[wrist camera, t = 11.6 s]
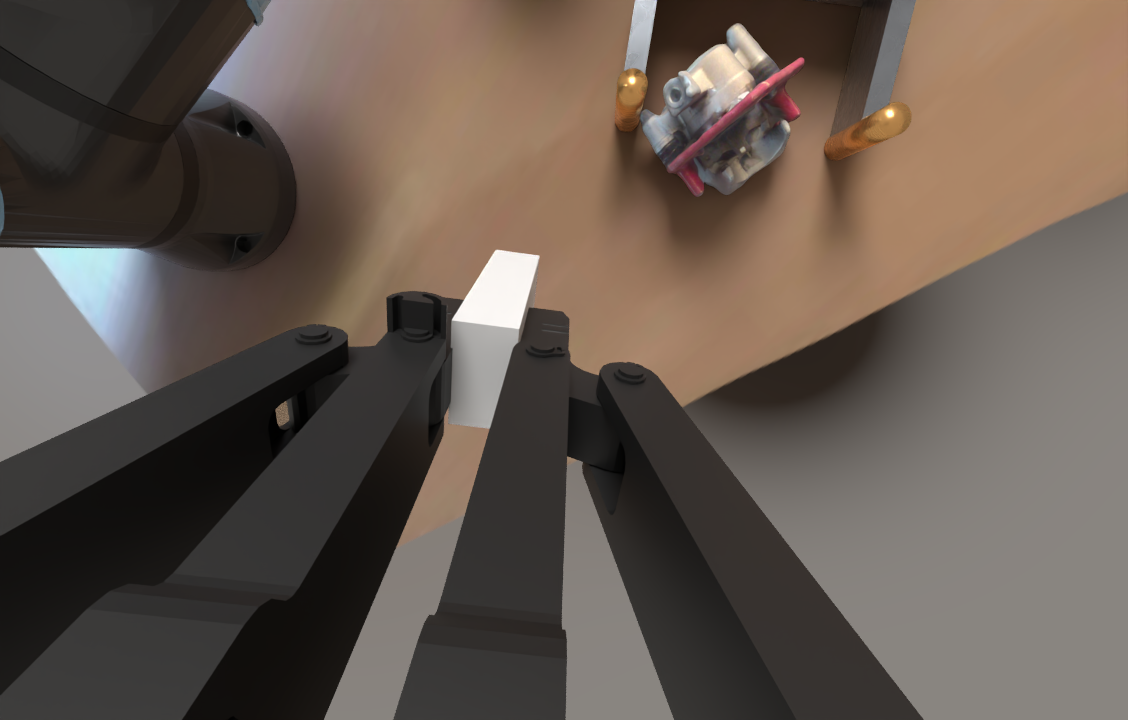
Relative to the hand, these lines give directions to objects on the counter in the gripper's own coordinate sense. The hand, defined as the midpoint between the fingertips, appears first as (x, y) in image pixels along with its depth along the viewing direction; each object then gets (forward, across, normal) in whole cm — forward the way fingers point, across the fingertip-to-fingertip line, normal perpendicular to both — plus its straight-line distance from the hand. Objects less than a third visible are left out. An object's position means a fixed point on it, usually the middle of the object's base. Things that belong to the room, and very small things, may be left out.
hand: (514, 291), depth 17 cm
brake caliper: (+28, +13, +6) cm, 31 cm away
